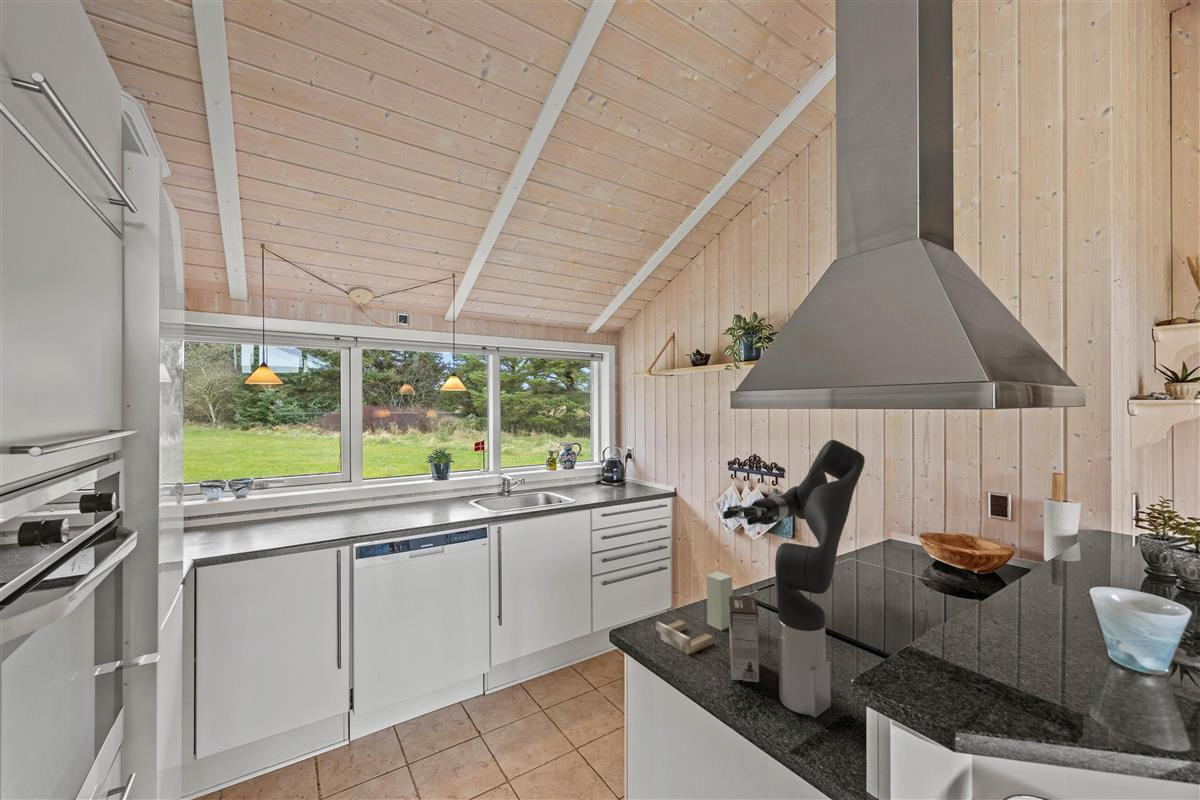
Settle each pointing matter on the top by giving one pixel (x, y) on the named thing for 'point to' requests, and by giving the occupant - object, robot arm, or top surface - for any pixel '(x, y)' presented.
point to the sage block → (718, 599)
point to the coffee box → (744, 638)
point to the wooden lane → (681, 637)
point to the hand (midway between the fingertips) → (735, 518)
